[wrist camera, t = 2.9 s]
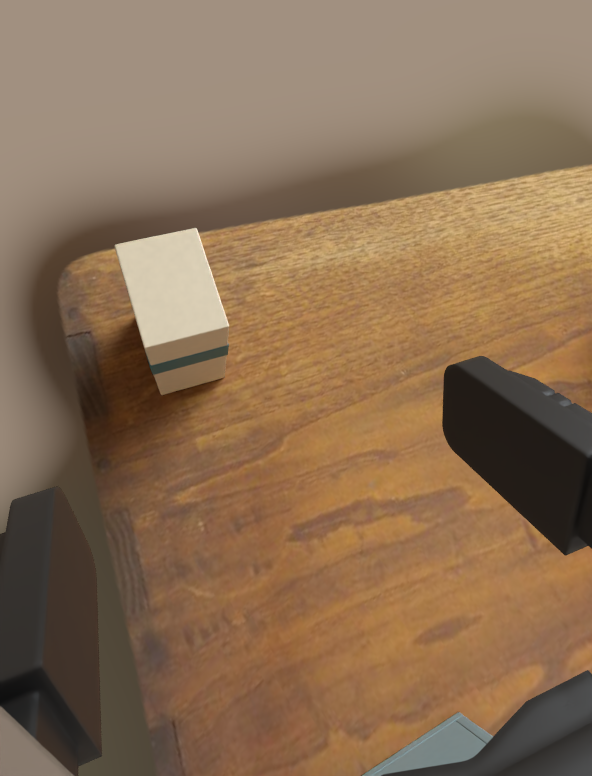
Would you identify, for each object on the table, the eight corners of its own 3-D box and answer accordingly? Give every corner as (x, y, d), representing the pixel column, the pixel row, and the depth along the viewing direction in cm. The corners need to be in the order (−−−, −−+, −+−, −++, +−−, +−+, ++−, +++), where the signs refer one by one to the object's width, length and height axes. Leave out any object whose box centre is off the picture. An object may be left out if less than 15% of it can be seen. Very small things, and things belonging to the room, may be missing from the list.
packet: (200, 299, 36) (197, 226, 28) (225, 378, 35) (230, 326, 26) (136, 314, 35) (112, 243, 27) (160, 396, 34) (143, 349, 25)
